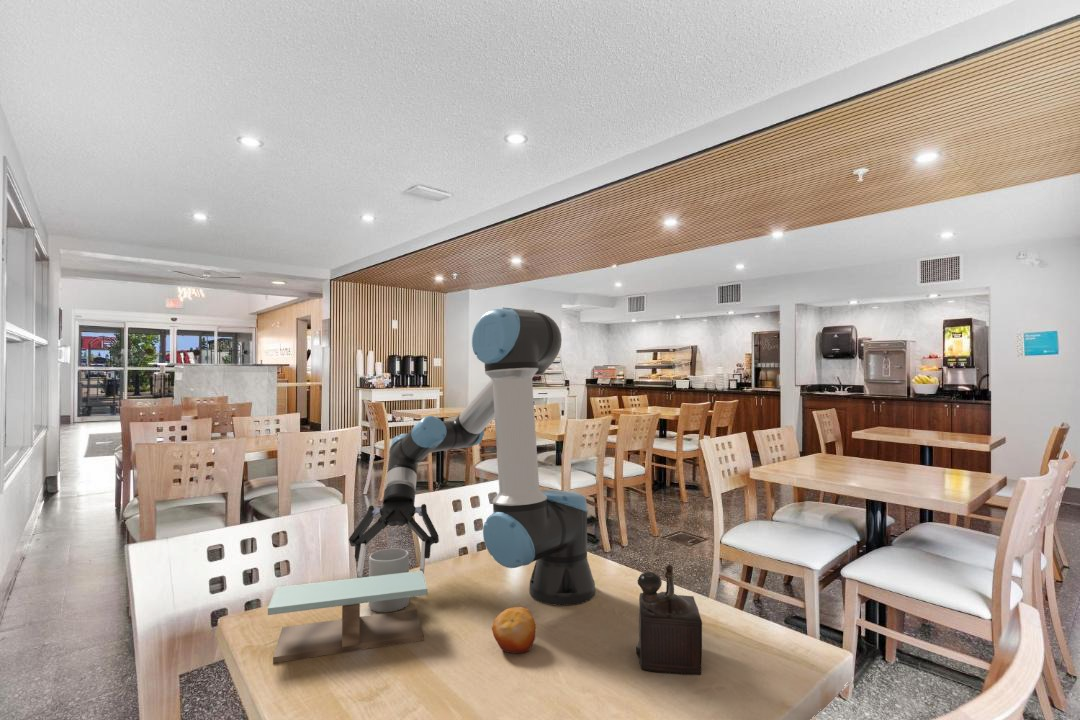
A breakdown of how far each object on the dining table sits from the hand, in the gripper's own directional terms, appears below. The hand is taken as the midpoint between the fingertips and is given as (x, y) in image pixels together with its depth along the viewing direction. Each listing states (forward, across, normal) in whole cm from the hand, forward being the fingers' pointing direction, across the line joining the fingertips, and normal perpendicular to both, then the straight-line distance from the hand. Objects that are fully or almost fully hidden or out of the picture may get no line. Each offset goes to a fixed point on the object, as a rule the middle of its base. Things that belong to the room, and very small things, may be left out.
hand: (390, 573), depth 123 cm
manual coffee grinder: (+28, -52, +19) cm, 62 cm away
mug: (+4, 0, -5) cm, 7 cm away
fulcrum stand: (+15, +5, +6) cm, 17 cm away
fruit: (+21, -26, +12) cm, 36 cm away
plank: (+10, +5, +12) cm, 16 cm away
